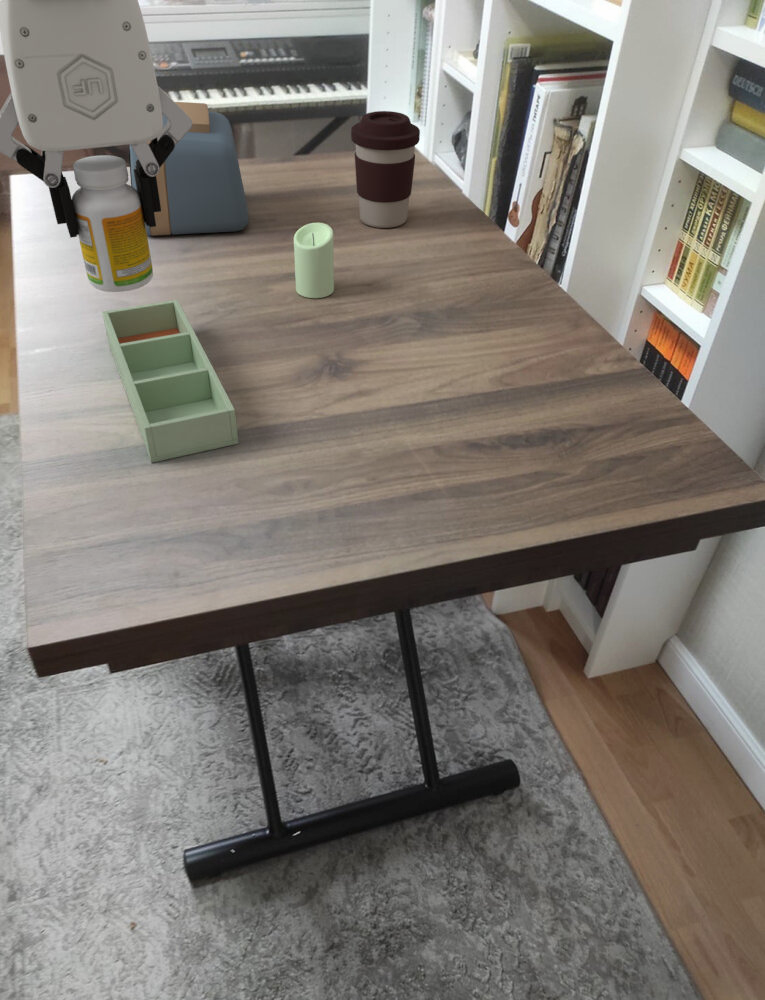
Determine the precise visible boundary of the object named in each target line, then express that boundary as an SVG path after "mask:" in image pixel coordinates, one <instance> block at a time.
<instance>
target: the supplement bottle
mask: <svg viewBox="0 0 765 1000" xmlns="http://www.w3.org/2000/svg"><path fill="white" fill-rule="evenodd" d="M72 168H73V174H74V180H75V182H76V184H77V186H78V187H79V188H78V189H77V190H75V192H73V195H71V199H72V203H73V208H74V213H75V217H76V222H77V226H78V231H79V235H77V237H78V240H79V245H80V249H81V253H82V254H81V255H82V258H83V263H84V268H85V272H86V276H87V279H88V282H89V284H90V285H91V286H92V287H93V288H95V289H97V290H99V291H102V292H108V293H123V292H129V291H134V290H138V289H140V288H143V287H144V286H146V285H148V284H149V283H150V282H151V281H152V279H153V276H154V270H153V263H152V257H151V250H150V246H149V245H150V244H149V240H148V238H149V237H148V235H147V233H146V227H145V221H144V214H143V208H142V202H141V198H140V195H139V193H138V191H137V190H136V189H135V188H133V187H132V186H131V184H128V182H129V172H128V167H127V162H126V160H125V159H124V158H122V157H119V156H116V155H106V154H104V155H101V154H100V155H91V156H86V157H82V158H80V159H78V160H76V161H75V162H74V163H73V165H72Z"/></svg>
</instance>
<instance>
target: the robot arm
mask: <svg viewBox="0 0 765 1000" xmlns="http://www.w3.org/2000/svg"><path fill="white" fill-rule="evenodd" d="M0 36H1V45H2V53H3V56H4V62H5V67H6V68H5V69H6V72H7V73H6V74H7V77H8V82H9V88H10V92H9V94H8V96H7V98H6V100H5V101H4V103H3V105H2V106H1V108H0V154H2V155H4V156H5V157H7V158H8V159H9V160H13V161H14V162H16V163H17V164H18V165H19V166H20V167H21V168H23V169H24V170H26V171H27V172H29V173H30V174H32V175H33V176H34V177H36V178H38V179H39V180H41V181H42V182H43V183H44V184H45V186H46V187H48V190H49V195H50V199H51V203H52V207H53V212H54V216H55V220H56V224H57V225H64V224H66V228H67V231H68V235H69V237H70V239H71V238H76V237H77V238H78V235H79V231H78V226H77V222H76V217H75V213H74V208H73V203H72V195H71V191H70V186H69V183H68V180H67V178H66V176H64V174H63V171H62V169H63V162H64V153H65V151H66V152H67V151H75V150H77V151H78V150H86V149H87V150H89V149H97V148H107V147H117V146H126V145H128V146H129V144H130V145H131V147H132V149H133V150H134V152H135V154H136V156H137V158H138V160H137V161H136V166H135V168H136V169H134V176H135V182H136V188H137V191H138V193H139V195H140V198H141V202H142V208H143V214H144V221H145V223H146V225H147V226H149V227H156V221H155V215H154V212H161V205H160V199H159V192H158V185H157V179H156V175H158V173H159V171H160V167H161V166H162V164H163V163H164V162H165V160H166V159H167V158H168V156H169V155H170V154H171V152H172V151H173V150H174V147H175V145H176V144H177V143H178V142H179V141H180V140H181V139H182V138H183V137H184V136H185V135H186V133H187V132H188V131H189V130H190V129H191V127H192V124H193V123H192V120H191V119H190V117H189V116H188V115H187V114H186V113H185V112H184V111H183V110H182V109H181V108H180V107H179V106H178V105H177V104H176V103H175V102H176V101H174V100H173V99H172V98H171V97H170V96H169V95H168V94H167V93H166V92H165V91H164V90H163V89H162V88H161V87H160V85H158V81H157V76H156V69H155V66H154V60H153V59H154V58H153V55H152V49H151V46H150V40H149V37H148V32H147V28H146V24H145V20H144V17H143V13H142V10H141V6H140V3H139V1H138V0H0ZM162 113H163V114H164V115H165V116H166V117H167V119H168V121H167V124H166V125H165V126H164V128H163V116H162ZM18 125H19V128H20V131H21V134H22V136H23V138H24V140H25V141H26V143H27V144H28V145H29V146H28V145H27V144H24V143H22V142H20V141H19V140H18V139H17V138H15V137H14V136H13V134H14V133H15V130H16V128H17V127H18ZM150 140H152V141H151V142H150V144H149V145H148V143H147V141H150ZM34 149H36V150H38V151H41V153H39V152H37V151H36V150H34Z"/></svg>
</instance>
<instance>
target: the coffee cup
mask: <svg viewBox="0 0 765 1000" xmlns="http://www.w3.org/2000/svg"><path fill="white" fill-rule="evenodd" d="M350 131H351V132H350V139H351V141H352V143H354V144H355V152H354V168H355V180H356V193H357V195H358V206H359V218H360V221H361V222H362V223H363V224H364V225H367V226H369V227H373V228H379V229H392V228H397V227H400V226H402V225H404V224H405V223H406V222H407V219H408V214H409V205H410V203H409V202H410V196H411V195H412V189H413V180H414V171H415V162H416V154H415V148H416V146H417V145H418V144H419V142H420V139H421V137H420V136H421V129H420V128H419V127H418V126H417V125H415V124H414V123H411V119H410V117H409V116H408V115H407V114H404V113H401V112H399V111H390V110H377V111H371V112H368V113H367V112H366V113H365V114H364V115H362V116H361V119H360V121H359V122H357V123H355V124H353V126H352V127H351V128H350Z"/></svg>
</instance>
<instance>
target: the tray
mask: <svg viewBox="0 0 765 1000" xmlns="http://www.w3.org/2000/svg"><path fill="white" fill-rule="evenodd" d="M101 315H102V319H103V323H104V328H105V333H106V338H107V343H108V345H109V348H110V351H111V354H112V356H113V359H114V362H115V365H116V368H117V371H118V374H119V376H120V379H121V382H122V385H123V388H124V391H125V393H126V396H127V400H128V402H129V405H130V407H131V410H132V413H133V417H134V418H135V421H136V425H137V427H138V430H139V433H140V436H141V438H142V442H143V444H144V447H145V450H146V452H147V455H148V458H149V461H150V463H151V464H152V463H157V462H162V461H166V460H171V459H175V458H180V457H185V456H189V455H193V454H198V453H202V452H206V451H212V450H215V449H221V448H225V447H230V446H234V445H238V444H239V436H238V435H239V433H238V425H237V417H236V415H237V414H236V409H235V407H234V405H233V404H232V401H231V400H230V397H229V395H228V394H227V391H226V390H225V388H224V386H223V384H222V382H221V380H220V379H219V376H218V374H217V372H216V371H215V369H214V366H213V365H212V362H211V361H210V359H209V357H208V355H207V353H206V351H205V349H204V348H203V346H202V343H201V342H200V340H199V337H198V336H197V334H196V332H195V330H194V328H193V326H192V324H191V323H190V320H189V319H188V316H187V315H186V313H185V311H184V309H183V307H182V304H181V303H180V301H179V300H178V299H173V300H166V301H160V302H154V303H148V304H142V305H141V304H140V305H135V306H129V307H123V308H116V309H111V310H103V311H102V312H101Z"/></svg>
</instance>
